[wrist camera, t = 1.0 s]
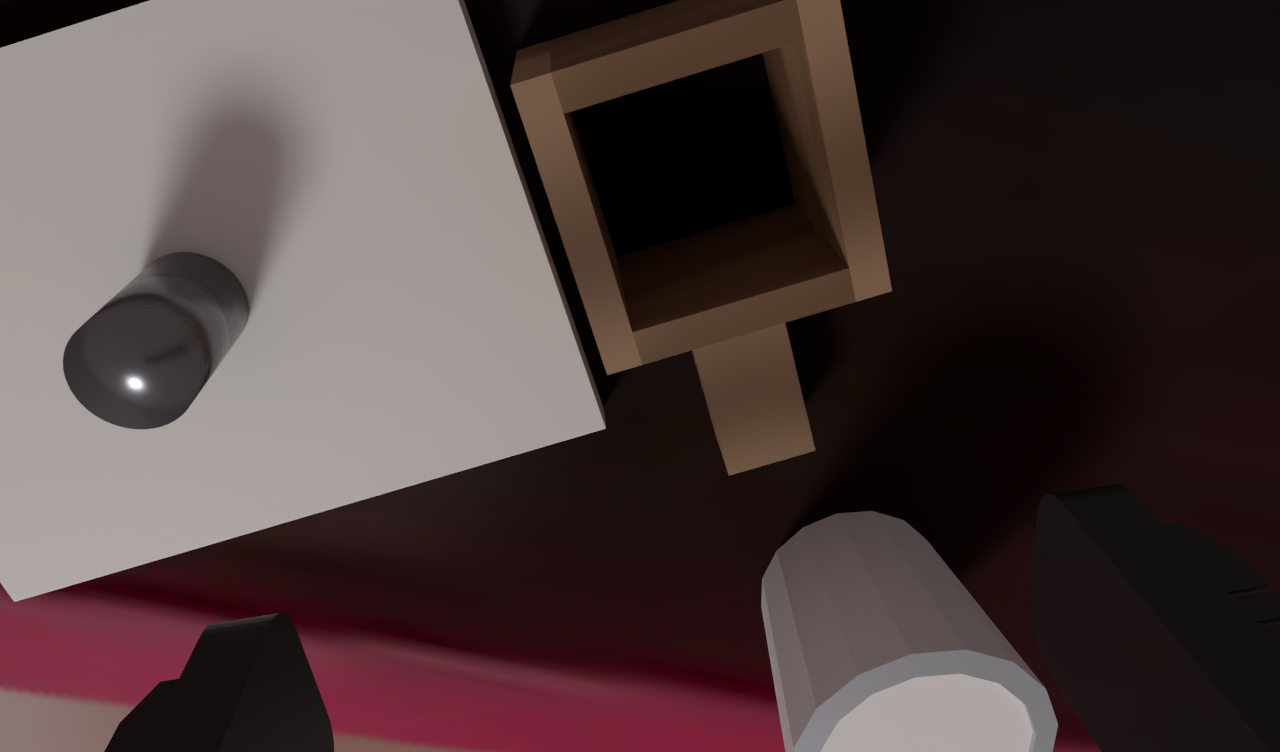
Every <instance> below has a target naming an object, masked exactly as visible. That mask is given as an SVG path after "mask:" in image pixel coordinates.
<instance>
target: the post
mask: <svg viewBox="0 0 1280 752" xmlns="http://www.w3.org/2000/svg"><path fill="white" fill-rule="evenodd" d="M248 316H249V303H248V298H247V294H246V292H245V290H244V287H243V286H242V284H241V282H240V281H239V280H238V278H237V277H236V276H235V275H234V274H233V272H232V271H231V270H229V269H228V268H227V267H226V266H225V265H223V264H222V263H220V262H218V261H217V260H215V259H213V258H210V257H208V256H205V255H202V254H198V253H192V252H176V253H171V254H167V255H164V256H162V257H160V258H158V259H156V260H154V261H153V262H152V263H151V264H149V265H148V266H147V267H146V268H145V269H144V270H143V271H142V272H141V273H139V274H138V275H137V276H136V277H135V278H134V279H133V280H132V281H131V282H129V283H128V284H127V285H126V286H125V287H124V288H123V289H122V290H121V291H120V292H118V293H117V294H116V295H115V296H114V297H113V298H112V299H111V300H110V301H108V302H107V303H106V304H105V305H104V306H103V307H102V308H101V309H100V310H99V311H97V312H96V313H95V314H94V315H93V316H92V317H91V318H90V319H89V320H87V321H86V322H85V323H84V324H83V325H82V326H81V327H80V328H79V329H77V331H76V332H75V333H74V334H73V335H72V336H71V338H70V339H69V341H68V343H67V345H66V347H65V351H64V354H63V371H64V375H65V379H66V381H67V384H68V386H69V388H70V390H71V392H72V393H73V394H74V396H75V397H76V399H77V400H78V401H79V402H80V403H81V404H82V405H83V406H84V407H85V408H86V409H87V410H88V411H90V412H91V413H92V414H94V415H95V416H97V417H99V418H100V419H102V420H104V421H106V422H109V423H111V424H114V425H117V426H120V427H124V428H129V429H153V428H158V427H162V426H164V425H167V424H169V423H171V422H173V421H175V420H177V419H178V418H179V417H181V416H182V415H183V414H184V413H185V412H186V411H187V409H188V408H189V407H190V405H191V404H192V402H193V401H194V400H195V398H196V397H197V395H198V394H199V393H200V391H201V390H202V388H203V387H204V386H205V384H206V383H207V381H208V380H209V379H210V377H211V376H212V374H213V373H214V372H215V370H216V369H217V367H218V366H219V365H220V363H221V362H222V360H223V359H224V357H225V356H226V355H227V353H228V352H229V350H230V349H231V348H232V346H233V345H234V343H235V342H236V341H237V339H238V338H239V336H240V335H241V334H242V332H243V331H244V329H245V327H246V324H247V321H248Z"/></svg>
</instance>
